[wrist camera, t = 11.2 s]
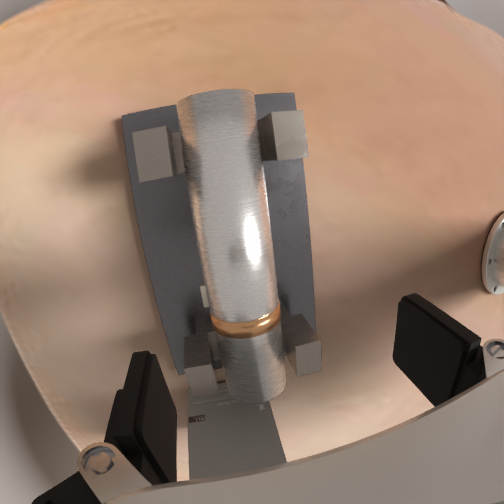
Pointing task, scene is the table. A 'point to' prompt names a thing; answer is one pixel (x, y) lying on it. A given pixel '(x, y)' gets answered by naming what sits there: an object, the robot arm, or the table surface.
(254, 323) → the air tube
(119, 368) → the table surface
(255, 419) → the skincare box
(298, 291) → the plate with corner blocks
